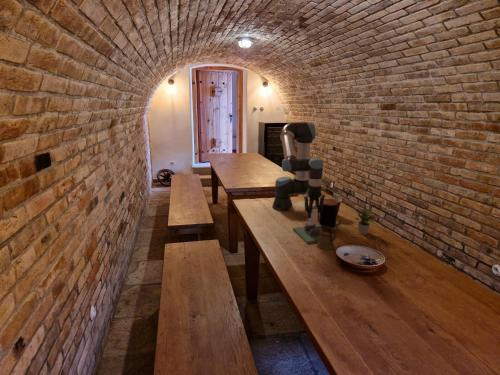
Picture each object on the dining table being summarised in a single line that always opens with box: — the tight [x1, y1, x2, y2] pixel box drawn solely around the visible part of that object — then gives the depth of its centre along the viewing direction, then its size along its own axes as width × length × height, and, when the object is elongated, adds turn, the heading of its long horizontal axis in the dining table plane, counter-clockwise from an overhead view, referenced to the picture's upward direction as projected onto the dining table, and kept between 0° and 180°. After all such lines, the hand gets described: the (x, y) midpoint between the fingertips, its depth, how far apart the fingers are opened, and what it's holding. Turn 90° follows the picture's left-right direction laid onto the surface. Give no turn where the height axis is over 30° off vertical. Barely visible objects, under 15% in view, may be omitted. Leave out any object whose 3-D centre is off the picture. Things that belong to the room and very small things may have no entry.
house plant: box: [354, 207, 377, 235], centre depth 194 cm, size 14×14×16 cm
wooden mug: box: [316, 220, 343, 250], centre depth 175 cm, size 9×14×18 cm, turn 44°
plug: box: [311, 205, 318, 224], centre depth 189 cm, size 5×3×10 cm, turn 17°
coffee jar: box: [318, 198, 338, 228], centre depth 202 cm, size 11×11×18 cm
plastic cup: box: [328, 197, 343, 216], centre depth 223 cm, size 11×11×12 cm
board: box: [292, 222, 321, 245], centre depth 193 cm, size 20×16×6 cm
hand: (313, 222), depth 190 cm, fingers closed on plug, 3 cm apart
